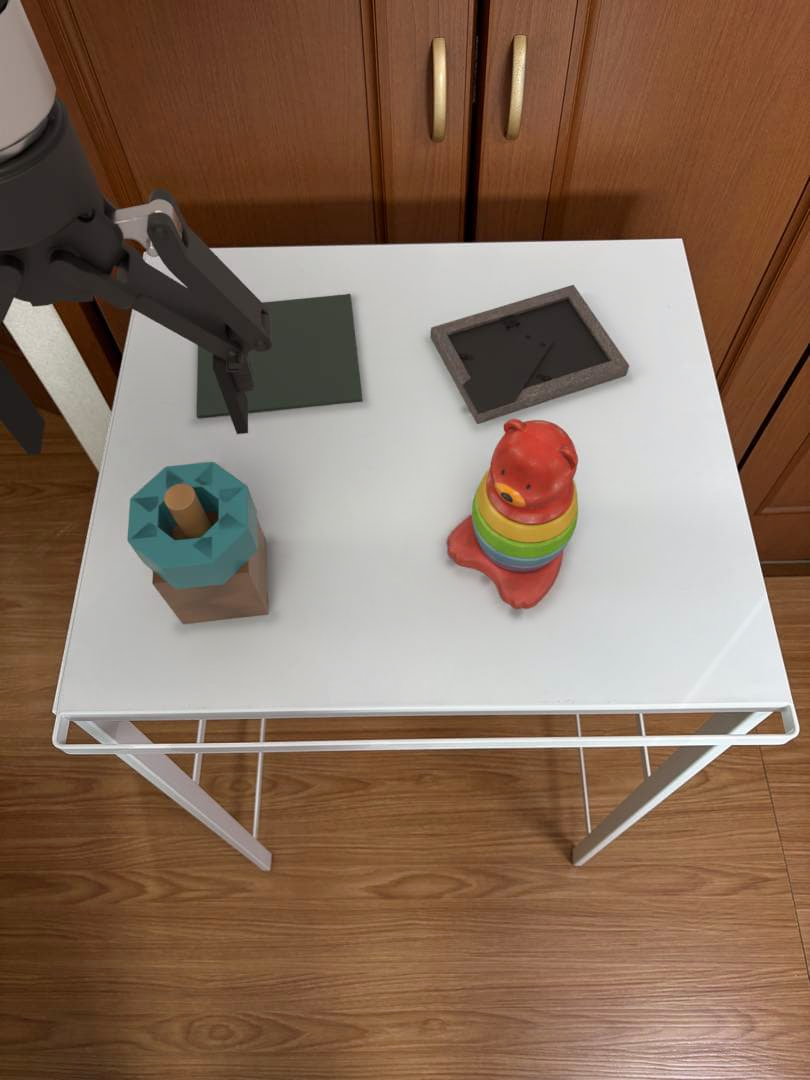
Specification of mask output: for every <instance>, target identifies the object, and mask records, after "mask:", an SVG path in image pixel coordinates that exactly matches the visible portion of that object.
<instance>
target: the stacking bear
mask: <svg viewBox="0 0 810 1080" xmlns="http://www.w3.org/2000/svg"><path fill="white" fill-rule="evenodd" d="M502 427H503V432H504V434H503V435H502V436H501V437H500V440H499V441H498V442H497V444H496V446H495V448H494V450H493V452H492V456H491V459H490V465H489V467H488V469H487V470H486V472H485V473H484V475H483V477H482V479H481V481H480V482H479V484H478V486H477V488H476V490H475V493H474V497H473V500H472V506H471V514H470V515H469V516H467V517H466V518H465V519H463V520H462V521H461V522H460V523H459V524H458V525H457V526H456V527H455V528H454V529H453V530H452V531H451V532H450V534H449V535H448V537H447V540H446V546H447V555H448V556H449V557H450V558H451V559H452V560H453V561H454V562H455V564H457V565H458V566H461V567H464V568H470V569H474V570H477V571H479V572H481V573H483V574H485V575H486V576H487V577H488V578H489V579H490V580H491V581H492V582H493V583H494V585H495V586H496V589H497V591H498V595H499V597H500V598H501V600H502V601H503V603H506V604H509V605H510V606H511V607H512V608H513V609H515V610H519V609H525V610H528V609H531V608H534V607H535V606H537V605H538V604H539V603H540V602H542V600H543V599H544V598H545V597H546V596H547V594H548V593H549V592H550V590H551V589H552V587H553V586H554V584H555V583H556V580H557V577H558V576H559V573H560V570H561V567H562V564H563V563H562V562H563V558H564V557H563V555H564V549H565V548H566V546H567V545H568V543H570V540H571V538H572V537H573V535H574V533H575V529H576V528H577V523H578V517H579V501H578V492H577V486H576V483H575V480H574V478H575V475H576V473H577V468H578V464H579V456H578V453H577V449H576V446H575V444H574V442H573V440H572V438H571V437H570V436H569V434H568V433H567V431H566V430H564V429H563V427H561V426H559V425H558V424H556V423H554V422H552V421H548V420H542V419H532V420H526V421H522V420H521V419H517V418H511V419H508V420H507V421H505V422H504V423H503V426H502Z"/></svg>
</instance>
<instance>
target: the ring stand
mask: <svg viewBox="0 0 810 1080" xmlns="http://www.w3.org/2000/svg"><path fill="white" fill-rule="evenodd" d="M164 501H165V504H166V506H167V507H168V509H169V511H170V512H171V514H172V516H173V518H174V519H175V521H176V523H177V524H178V525H177V526H176V527H175V528H174V529H173V539H174V540H183V539H192V538H201V537H202V536H203V535H204V534H205V533H206V532H207V531H208V530H209V529H210V528H211V527H212V526H213V525H214V524H215V523H216V522H217V521H218V514H217V513H216V512H214V511H204V509H203V507H202V505H201V503H200V501H199V499H198V497H197V495H196V493H195V491H194V489H193V488H192V487H191V486H189V485H187V484H177V485H174V486H172V487H171V488H170V489H169V490H168V491H167V492H166V494H165V497H164ZM257 538H258V550H257V552H256V553H255V554H254V555H253V556H252V557H251V558H250V559H249V560H248V561H247V562H246V563H245V564H244V565H243V566H242V567H241V568H240V569H239V570H238V571H237V572H236V573H235V574H234V575H233V576H232V577H231V578H230V579H229V580H228V581H227V582H226V583H225V584H221V585H212V586H204V587H195V588H186V589H175V588H173V587H172V586H171V585H170V584H169V583H167V582H166V581H165V580H164V579H162V578H161V577H160V576H159V575H157V574H156V573H155V572H154V571H153V570H152V582H151V584H152V585H153V587H154V588H155V589H156V591H157V593H159V595H160V596H161V597H162V599H163V600H164V601H165V603H166V604H167V605H168V607H169V609H170V610H172V612H173V614H174V615H175V616H176V617H177V618H178V620H179V622H180V623H181V624H182V625H186V624H189V625H190V624H197V623H206V622H215V621H223V620H231V619H241V618H249V617H257V616H267V615H269V599H268V598H269V597H268V596H269V595H268V594H269V593H268V564H267V563H268V561H267V539H266V537H265V535H264V532H263V529H262V526H261V524H260V522H259V519H258V518H257Z"/></svg>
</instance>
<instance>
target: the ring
mask: <svg viewBox="0 0 810 1080" xmlns="http://www.w3.org/2000/svg"><path fill="white" fill-rule="evenodd" d="M177 484H187V485H189V486H191V487H192V488H193V489H194V491H195V493H196V495H197V497H198V499H199V501H200V503H201V505H202V507H203V509H204V511H214V512H216V513H217V514H218V521H217V522H216V523H215V524H214V525H213V526H212V527H211V528H210V529H209V530H208V531H207V532H206V533H205V534H204V535H203V536H202V537H201V538H192V539H183V540H174V539H173V529H174V528H175V527H176V526H177V525H178V524H177V523H176V521H175V519H174V518H173V516H172V514H171V512H170V511H169V509H168V507H167V506H166V504H165V501H164V497H165V494H166V492H167V491H168V490H169V489H170V488H171V487H172V486H174V485H177ZM128 512H129V513H128V524H127V525H128V527H127V539H126V541H127V543H128V544H129V545H130V547H131V548H132V549H133V551H134V553H136V555H137V556H138V558H139V559H140V561H141V562H142V563H143V565H145V566H146V567H147V568H149V569H150V570H151V571H152V572H153V571H154V572H155V573H156V574H157V575H159V576H160V577H161V578H162V579H164V580H165V581H166V582H167V583H169V584H170V585H171V586H172V587H173V588H175V589H186V588H195V587H204V586H212V585H221V584H225V583H226V582H227V581H228V580H229V579H230V578H231V577H232V576H233V575H234V574H235V573H236V572H237V571H238V570H239V569H240V568H241V567H242V566H243V565H244V564H245V563H246V562H247V561H248V560H249V559H250V558H251V557H252V556H253V555H254V554H255V553H256V552H257V550H258V538H257V519H258V510H257V508H256V504H255V502H254V499H253V497H252V494H251V492H250V489H249V487H248V485H247V484H245V483H244V482H243V481H242V480H240V479H239V478H237V477H236V476H234V475H233V474H232V473H230V472H229V471H227V470H226V469H224V468H223V467H222V466H221V465H219V464H218V463H216V462H215V461H204V462H195V463H186V464H177V465H167V466H164V467H163V468H162V469H161V470H160V471H159V472H157V474H156V475H154V477H152V478H151V479H150V480H148V482H146V484H144V486H142V487H141V488H139V490H137V492H136V493H134V494H133V495H132V496H131V497H130V498H129V510H128Z"/></svg>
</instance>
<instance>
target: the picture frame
mask: <svg viewBox="0 0 810 1080" xmlns="http://www.w3.org/2000/svg"><path fill="white" fill-rule="evenodd" d="M596 316H597V315H595V314H594V312H593V311H592V309H591V308H590V306H589V305H588V303H587V302H586V301H585V299H584V297H583V296H582V294H581V293H580V292H579V290H578V289H577V288H576V286H575V284H571V285H568V286H564V287H561V288H558V289H554V290H551V291H547V292H545V293H541V294H537V295H535V296H531V297H527V298H524V299H522V300H517V301H514V302H511V303H508V304H504V305H501V306H498V307H495V308H491V309H488V310H484V311H482V312H478V313H475V314H472V315H469V316H465V317H462V318H458V319H455V320H451V321H448V322H445V323H442V324H437V325H435V326H432V327H430V339H431V341H432V342H433V345H434V346H435V348H436V350H437V352H438V354H439V356H440V358H441V360H442V361H443V363H444V366H445V367H446V369H447V370H448V372H449V374H450V376H451V378H452V380H453V382H454V384H455V386H456V388H457V390H458V391H459V393H460V395H461V397H462V399H463V401H464V402H465V404H466V406H467V408H468V410H469V412H470V414H471V415H472V417H473V419H474V421H475V424H476V425H479V424H481V423H485V422H488V421H490V420H494V419H497V418H500V417H503V416H506V415H509V414H512V413H515V412H519V411H522V410H524V409H528V408H531V407H534V406H536V405H541V404H543V403H546V402H549V401H552V400H555V399H559V398H561V397H565V396H567V395H570V394H574V393H576V392H580V391H582V390H583V391H584V390H586V389H590V388H593V387H596V386H598V385H601V384H605V383H607V382H610V381H614V380H616V379H621V378H623V377H626V376H627V374H628V371H629V369H630V365H629V363H628V361H627V360H626V359H625V357H624V356H623V354H622V352H620V349H619V348H618V347H617V345H616V344H615V343H614V341H613V339H612V338H611V336H610V335H609V334H608V332H607V331H606V329H605V328H604V327H603V325H602V324H601V322H600V321H599V319H598V318H597V317H596Z"/></svg>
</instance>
